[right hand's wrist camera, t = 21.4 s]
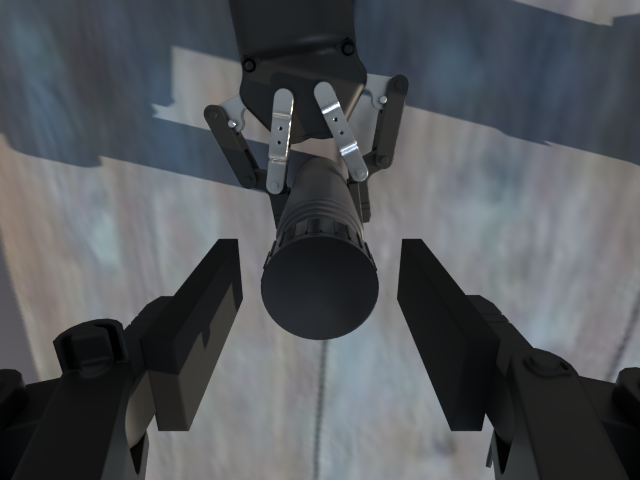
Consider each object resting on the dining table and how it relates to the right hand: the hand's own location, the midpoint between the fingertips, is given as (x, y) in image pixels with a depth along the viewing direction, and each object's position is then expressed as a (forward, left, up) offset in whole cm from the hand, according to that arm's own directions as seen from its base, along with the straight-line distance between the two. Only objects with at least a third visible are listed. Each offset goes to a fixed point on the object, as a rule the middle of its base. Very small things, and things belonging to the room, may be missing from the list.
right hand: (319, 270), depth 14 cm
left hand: (-1, -3, -13) cm, 13 cm away
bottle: (0, 0, -19) cm, 19 cm away
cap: (0, 0, +1) cm, 1 cm away
